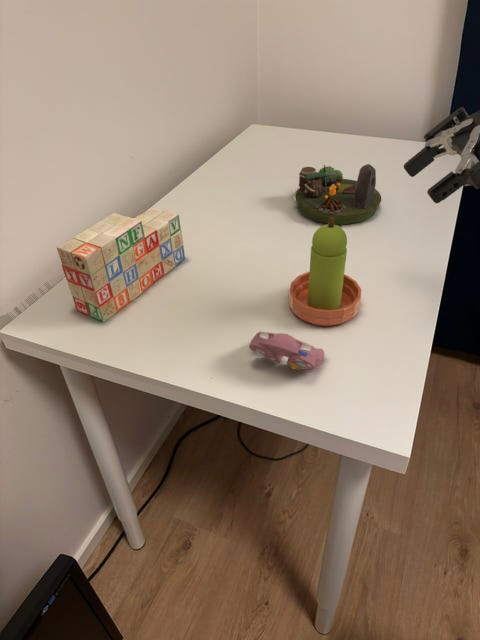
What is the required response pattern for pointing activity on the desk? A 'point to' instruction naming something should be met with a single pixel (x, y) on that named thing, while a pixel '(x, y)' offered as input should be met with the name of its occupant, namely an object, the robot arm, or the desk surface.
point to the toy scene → (337, 195)
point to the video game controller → (286, 350)
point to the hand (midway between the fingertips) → (418, 184)
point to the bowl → (320, 316)
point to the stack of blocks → (120, 259)
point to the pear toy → (327, 267)
